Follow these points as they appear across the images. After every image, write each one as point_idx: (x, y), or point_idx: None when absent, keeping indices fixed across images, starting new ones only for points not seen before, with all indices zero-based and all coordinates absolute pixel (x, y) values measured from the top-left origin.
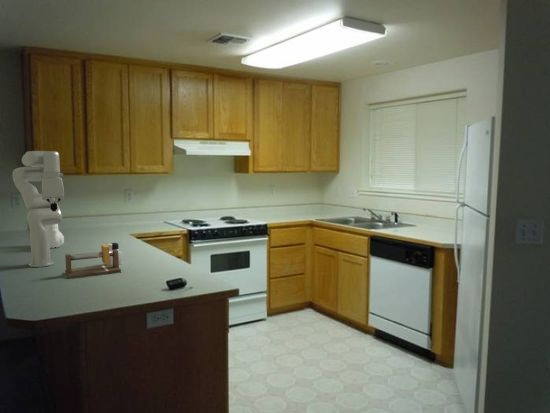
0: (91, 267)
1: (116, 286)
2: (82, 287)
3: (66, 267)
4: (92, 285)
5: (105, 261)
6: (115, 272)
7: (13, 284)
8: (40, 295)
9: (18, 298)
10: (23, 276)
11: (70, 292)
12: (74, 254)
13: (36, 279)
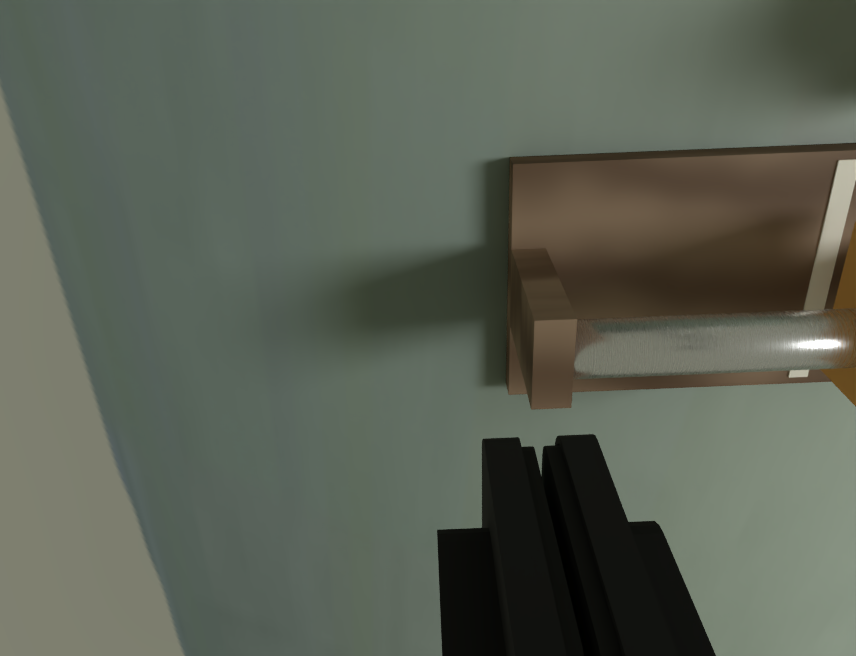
0: (738, 185)
1: None
2: None
3: (516, 311)
4: None
5: (836, 381)
6: None
7: (142, 366)
8: (334, 642)
9: (234, 647)
10: (165, 128)
11: None
12: (614, 368)
13: (285, 293)
